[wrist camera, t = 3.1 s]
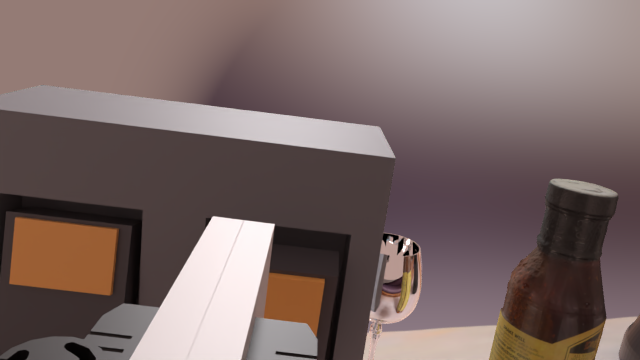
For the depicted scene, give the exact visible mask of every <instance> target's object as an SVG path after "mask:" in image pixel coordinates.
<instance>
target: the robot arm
mask: <svg viewBox="0 0 640 360" xmlns="http://www.w3.org/2000/svg"><path fill="white" fill-rule="evenodd" d="M274 226H275V224H270V223H262V222H254V221H246V220H238V219H231V218H223V217H215V216H213V217H212V219H211V221H210V222H209V224H208V226H207V227H206V229H205V231H204V233H203V234H202V236H201V238H200V239H199V241H198V243H197V245H196V246H195V248H194V250H193V251H192V253H191V255H190V257H189V258H188V260H187V262H186V263H185V265H184V267H183V269H182V270H181V272H180V274H179V275H178V277H177V279H176V281H175V282H174V284H173V286H172V288H171V289H170V291H169V293H168V294H167V296H166V298H165V300H164V301H163V303H162V305H161V306H160V308H158V307H150V306H142V305H134V304H125V303H123V304H122V305H120V306H118V307H116V308H115V309H113V310H111V311H109V312H108V313H106V314H104V315H102V317H101V318H100V319H99V321H98V322H97V323H96V325H95V326H94V327H93V328H92V330H91V332H90V334H88V335H87V336H86V338H85V339H80V338H76V337H58V336H52V337H46V338H40V339H35V340H30V341H28V342H25V343H22V344H20V345H17V346H15V347H12V348H11V349H9V350H8V351H6V352H5V353H4V354H2V355H1V356H0V360H317V338H316V336H315V335H314V333H313V332H312V330H311V329H310V327H309V326H308V324H307V323H298V322H290V321H282V320H274V319H265V318H264V312H265V304H266V295H267V286H268V278H269V269H270V261H271V252H272V244H273V235H274ZM619 358H620V360H640V315H639V316H638V318H637V319H636V320H635V322H634V323H633V324H631V325H630V326H629V327H628V328H627V330H626V332H625V334H624V337H623V341H622V344H621V347H620V351H619Z"/></svg>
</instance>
